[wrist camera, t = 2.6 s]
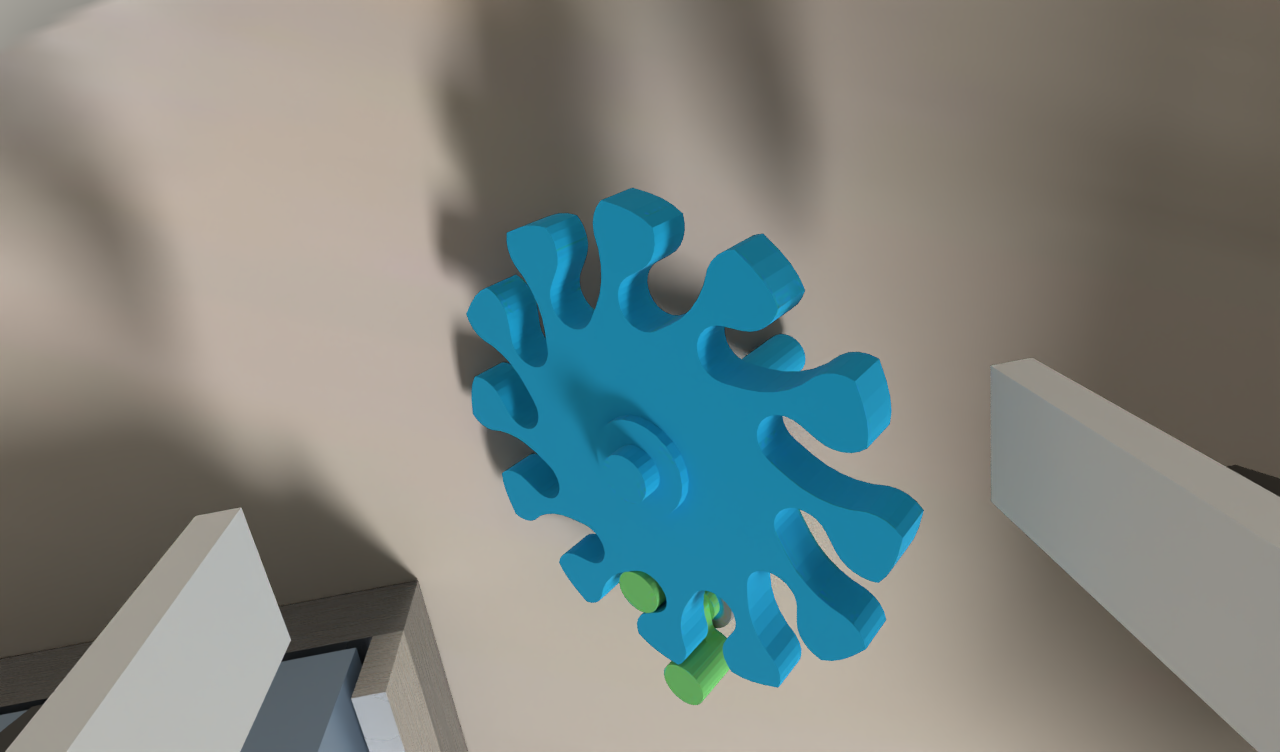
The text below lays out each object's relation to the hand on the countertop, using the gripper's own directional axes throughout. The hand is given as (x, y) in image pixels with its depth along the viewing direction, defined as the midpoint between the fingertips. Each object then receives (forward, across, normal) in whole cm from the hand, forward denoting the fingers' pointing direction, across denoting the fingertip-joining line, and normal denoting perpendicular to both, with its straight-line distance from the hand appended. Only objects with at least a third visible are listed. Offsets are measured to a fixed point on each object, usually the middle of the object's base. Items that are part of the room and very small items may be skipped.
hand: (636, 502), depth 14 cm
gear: (+6, -1, 0) cm, 6 cm away
